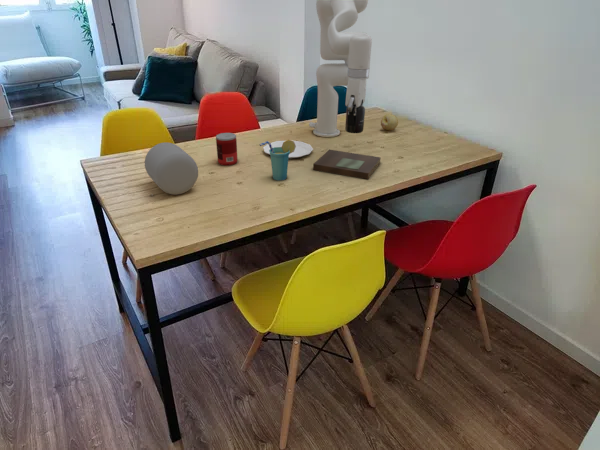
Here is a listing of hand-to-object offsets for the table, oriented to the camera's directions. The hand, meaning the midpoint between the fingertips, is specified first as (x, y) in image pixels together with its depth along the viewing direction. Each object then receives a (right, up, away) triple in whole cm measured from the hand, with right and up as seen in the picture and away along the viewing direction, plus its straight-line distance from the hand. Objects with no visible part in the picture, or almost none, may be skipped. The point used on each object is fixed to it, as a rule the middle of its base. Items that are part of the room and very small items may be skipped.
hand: (354, 122), depth 167 cm
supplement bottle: (0, -3, +2) cm, 3 cm away
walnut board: (-2, -15, +11) cm, 19 cm away
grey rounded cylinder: (-69, -24, -6) cm, 73 cm away
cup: (-29, -21, 0) cm, 35 cm away
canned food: (-49, -13, +13) cm, 53 cm away
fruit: (+23, +8, +52) cm, 58 cm away
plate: (-25, -7, +24) cm, 36 cm away
